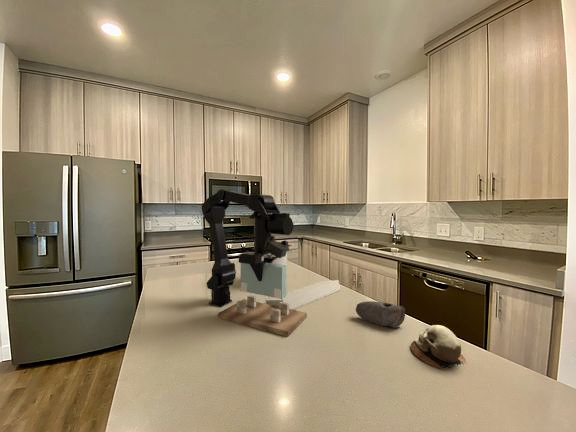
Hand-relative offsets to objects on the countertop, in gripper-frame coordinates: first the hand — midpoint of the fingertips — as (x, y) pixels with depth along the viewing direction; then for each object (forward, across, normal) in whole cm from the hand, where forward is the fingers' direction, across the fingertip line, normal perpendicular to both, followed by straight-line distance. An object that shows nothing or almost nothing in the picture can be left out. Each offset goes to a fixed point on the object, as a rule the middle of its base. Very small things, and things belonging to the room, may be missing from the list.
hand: (262, 279), depth 81 cm
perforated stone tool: (+13, +14, -35) cm, 40 cm away
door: (+4, 0, 0) cm, 5 cm away
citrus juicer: (+13, +31, +16) cm, 37 cm away
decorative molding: (+13, +24, -6) cm, 28 cm away
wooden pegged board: (+13, 0, 0) cm, 13 cm away
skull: (+13, +3, -50) cm, 52 cm away
